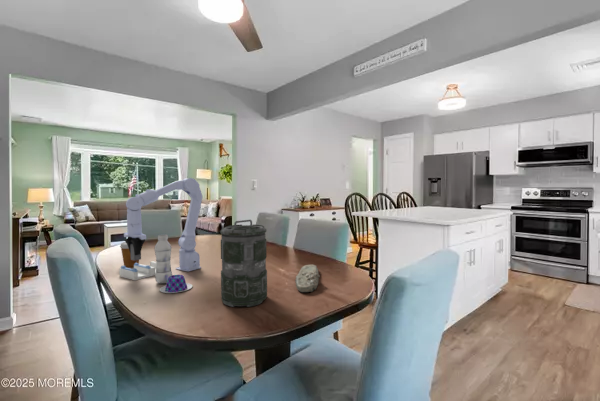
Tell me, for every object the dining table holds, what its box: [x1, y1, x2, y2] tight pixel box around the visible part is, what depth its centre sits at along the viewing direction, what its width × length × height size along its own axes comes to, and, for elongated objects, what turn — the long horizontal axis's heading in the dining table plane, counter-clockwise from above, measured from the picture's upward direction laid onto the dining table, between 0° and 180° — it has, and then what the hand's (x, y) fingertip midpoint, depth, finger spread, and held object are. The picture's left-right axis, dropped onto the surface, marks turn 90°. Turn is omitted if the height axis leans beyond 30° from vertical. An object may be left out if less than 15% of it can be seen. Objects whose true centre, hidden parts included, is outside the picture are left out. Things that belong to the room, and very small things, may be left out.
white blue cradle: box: [118, 260, 156, 281], centre depth 141 cm, size 12×16×5 cm
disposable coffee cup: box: [119, 241, 140, 269], centre depth 155 cm, size 10×10×12 cm
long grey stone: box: [294, 264, 321, 293], centre depth 131 cm, size 35×5×10 cm
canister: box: [219, 219, 268, 308], centre depth 107 cm, size 16×16×28 cm
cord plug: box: [130, 244, 142, 261], centre depth 138 cm, size 3×3×7 cm
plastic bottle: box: [153, 233, 173, 284], centre depth 127 cm, size 6×7×20 cm
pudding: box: [159, 274, 193, 294], centre depth 120 cm, size 12×12×5 cm
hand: (135, 254), depth 137 cm, fingers closed on cord plug, 3 cm apart
